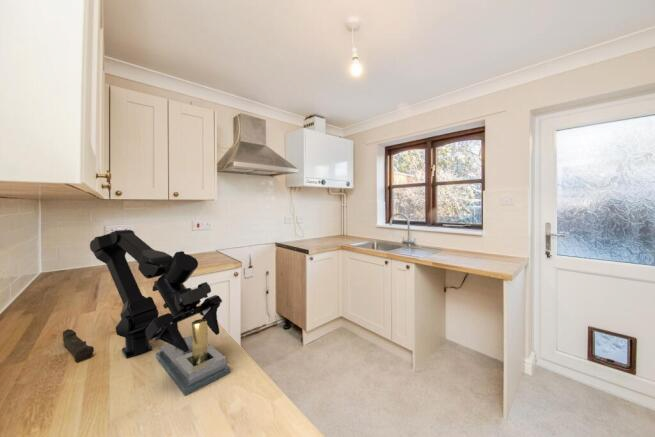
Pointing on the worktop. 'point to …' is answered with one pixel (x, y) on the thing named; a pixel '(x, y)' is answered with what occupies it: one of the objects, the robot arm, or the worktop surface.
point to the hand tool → (77, 346)
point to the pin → (199, 341)
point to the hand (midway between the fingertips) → (203, 342)
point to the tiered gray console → (191, 366)
